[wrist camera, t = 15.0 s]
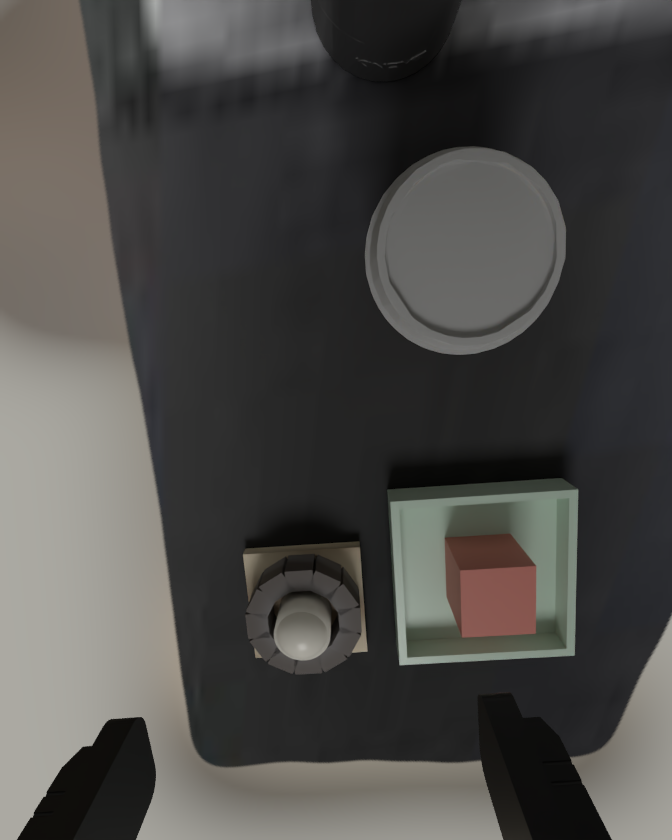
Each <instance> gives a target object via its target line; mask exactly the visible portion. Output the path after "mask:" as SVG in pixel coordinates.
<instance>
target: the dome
mask: <svg viewBox="0 0 672 840" xmlns="http://www.w3.org/2000/svg"><path fill="white" fill-rule="evenodd" d="M331 613H332V610H331V604H330V602H329V600H328V598H325V597H323V596H321V595H319V594H316V593H314V592H312V591H297V592H290V593H288V594H287V595H285V596H284V597H283V599H282V601H281V603H280V607H279V611H278V616H277V620H276V624H275V629H274V640H275V643H276V645H277V647H278V649H279V650H280V651H281V652H282V653H283V654H284V655H286V656H288V657H289V658H292V659H295V660H310V659H314V658H316V657H318V656H319V655H321V654H322V653H323V652H324V651H325V650H326V648H327V647H328V645H329V642H330V635H331Z"/></svg>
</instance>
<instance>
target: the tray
mask: <svg viewBox="0 0 672 840" xmlns="http://www.w3.org/2000/svg"><path fill="white" fill-rule="evenodd" d="M387 496H388V513H389V530H390V547H391V564H392V581H393V598H394V615H395V632H396V645H397V651H398V657H399V664H400V665H410V664H428V663H446V662H465V661H483V660H501V659H519V658H538V657H556V656H574V655H575V611H576V566H577V522H578V489H577V488H575V487H574V486H572V485H571V484H570V483H568V482H567V481H565V480H564V479H562V478H554V479H539V480H524V481H509V482H494V483H479V484H464V485H449V486H434V487H419V488H404V489H389V490H387ZM496 534H511V535H512V536H513V538H514V539H515V540H516V541H517V543H518V544H519V545H520V546H521V548H522V549H523V550H524V551H525V552H526V554H527V555H528V556H529V557H530V559H531V560H532V561H533V562H534V564H535V565H536V634H521V635H503V636H484V637H466V638H462V637H461V634H460V631H459V629H458V626H457V623H456V621H455V618H454V615H453V613H452V610H451V607H450V605H449V602H448V600H447V597H446V567H445V538H447V537H463V536H479V535H496Z"/></svg>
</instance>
